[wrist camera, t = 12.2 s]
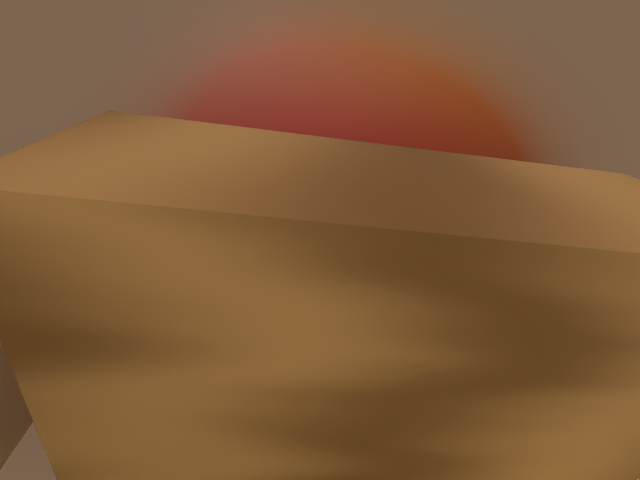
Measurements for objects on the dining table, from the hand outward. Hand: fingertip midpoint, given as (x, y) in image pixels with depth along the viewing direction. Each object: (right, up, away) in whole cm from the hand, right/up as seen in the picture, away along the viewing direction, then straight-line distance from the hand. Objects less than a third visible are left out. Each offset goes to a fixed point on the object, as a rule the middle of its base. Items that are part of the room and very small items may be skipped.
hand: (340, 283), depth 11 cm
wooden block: (-1, -10, +2) cm, 10 cm away
